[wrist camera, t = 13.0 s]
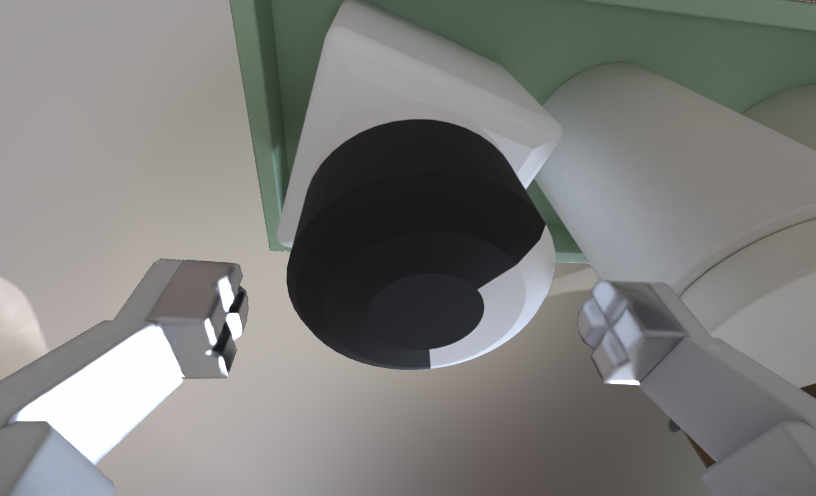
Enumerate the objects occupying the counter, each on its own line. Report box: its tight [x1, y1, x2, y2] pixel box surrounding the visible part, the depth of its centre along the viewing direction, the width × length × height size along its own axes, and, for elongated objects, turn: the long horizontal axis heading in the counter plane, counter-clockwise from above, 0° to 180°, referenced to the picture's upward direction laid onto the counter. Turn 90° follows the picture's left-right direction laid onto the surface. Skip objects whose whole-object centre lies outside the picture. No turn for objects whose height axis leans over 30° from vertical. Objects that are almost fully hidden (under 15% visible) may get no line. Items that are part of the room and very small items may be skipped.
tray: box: [230, 0, 816, 263], centre depth 18 cm, size 32×13×3 cm, turn 84°
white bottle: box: [534, 62, 816, 388], centre depth 14 cm, size 7×7×12 cm
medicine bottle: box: [277, 0, 563, 370], centre depth 13 cm, size 7×7×12 cm
